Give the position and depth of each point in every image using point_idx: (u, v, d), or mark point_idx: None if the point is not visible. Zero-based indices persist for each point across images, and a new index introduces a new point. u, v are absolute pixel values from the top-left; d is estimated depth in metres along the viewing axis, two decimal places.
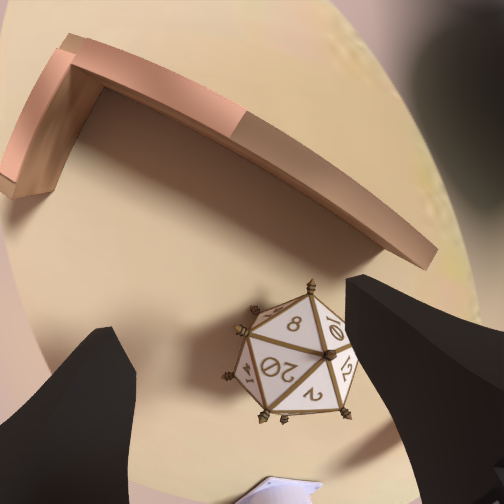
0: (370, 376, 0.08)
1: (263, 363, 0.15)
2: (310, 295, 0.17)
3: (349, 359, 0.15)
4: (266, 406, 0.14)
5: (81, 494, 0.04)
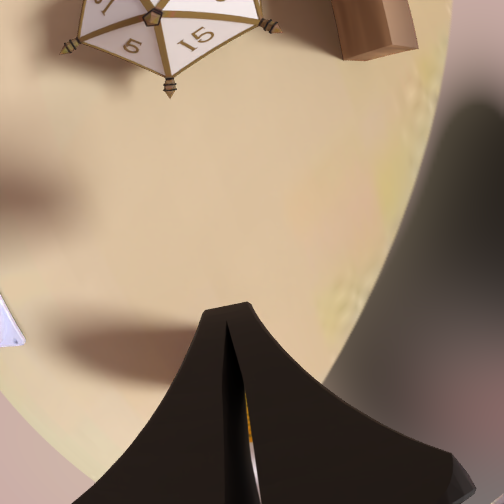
0: None
1: None
2: None
3: None
4: None
5: (248, 494, 0.04)
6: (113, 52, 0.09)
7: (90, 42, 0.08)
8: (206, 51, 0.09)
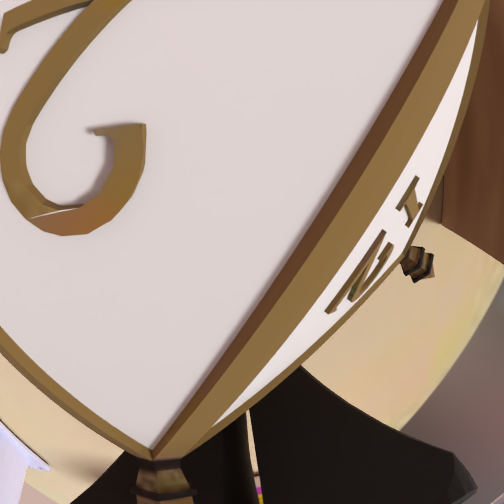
0: None
1: None
2: None
3: (405, 226, 0.03)
4: None
5: (246, 494, 0.04)
6: None
7: None
8: None
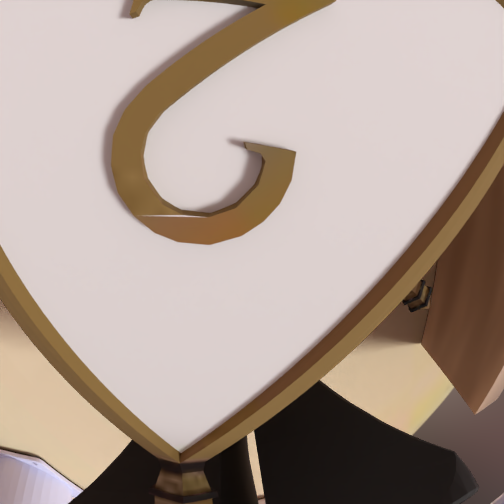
0: None
1: None
2: None
3: None
4: None
5: (245, 495, 0.04)
6: None
7: None
8: None
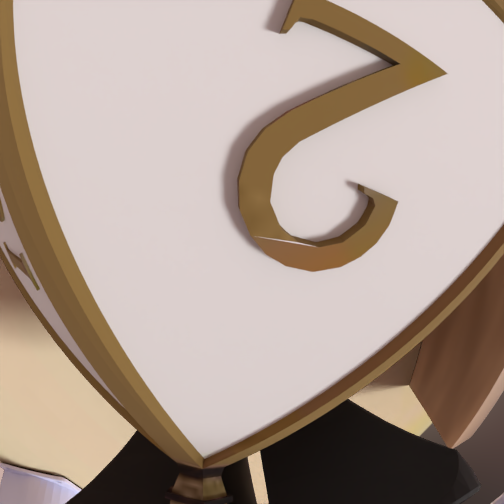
0: None
1: None
2: None
3: None
4: None
5: (243, 495, 0.04)
6: None
7: None
8: None
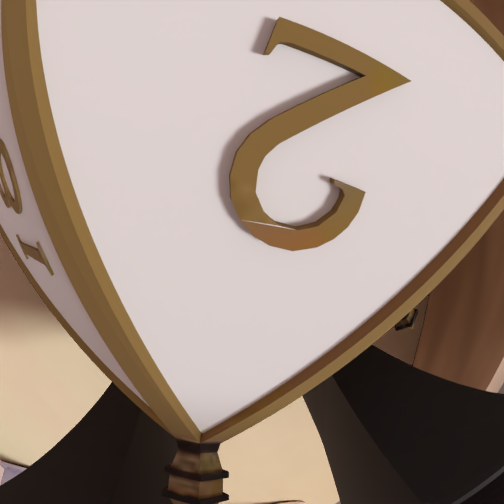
0: (304, 397, 0.08)
1: None
2: None
3: None
4: None
5: (169, 501, 0.04)
6: None
7: None
8: None
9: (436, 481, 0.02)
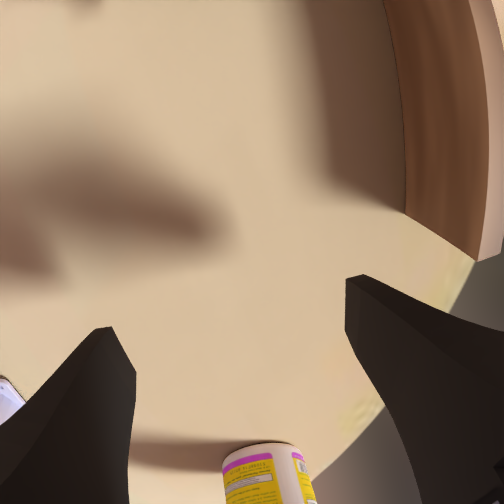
0: (370, 376, 0.08)
1: None
2: None
3: None
4: None
5: (81, 494, 0.04)
6: None
7: None
8: None
9: None
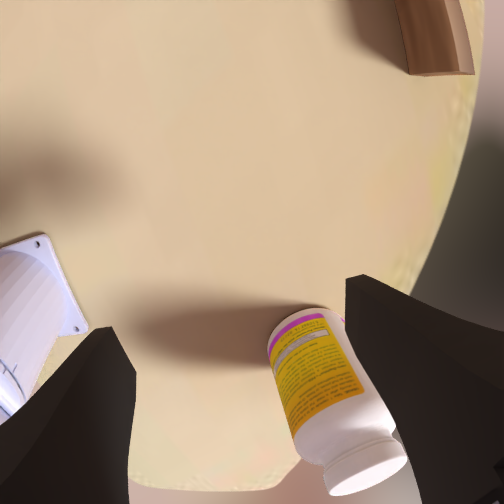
0: (370, 376, 0.08)
1: None
2: None
3: None
4: None
5: (81, 494, 0.04)
6: None
7: None
8: None
9: None
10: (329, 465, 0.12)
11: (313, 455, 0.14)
